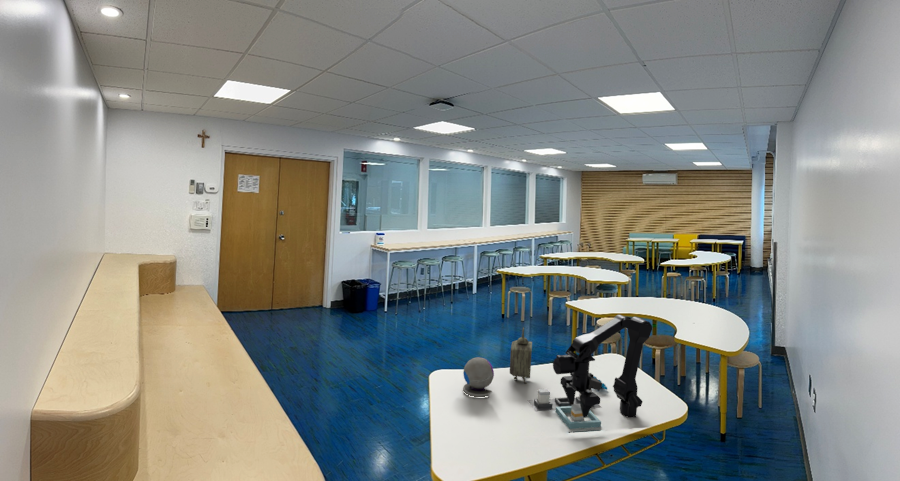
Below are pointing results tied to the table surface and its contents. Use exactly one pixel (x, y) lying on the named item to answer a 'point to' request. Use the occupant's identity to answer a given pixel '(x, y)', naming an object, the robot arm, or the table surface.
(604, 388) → the gear
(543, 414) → the table surface
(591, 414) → the tray
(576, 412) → the marked fuse
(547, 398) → the block
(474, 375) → the webcam
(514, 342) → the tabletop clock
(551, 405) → the fuse holder
